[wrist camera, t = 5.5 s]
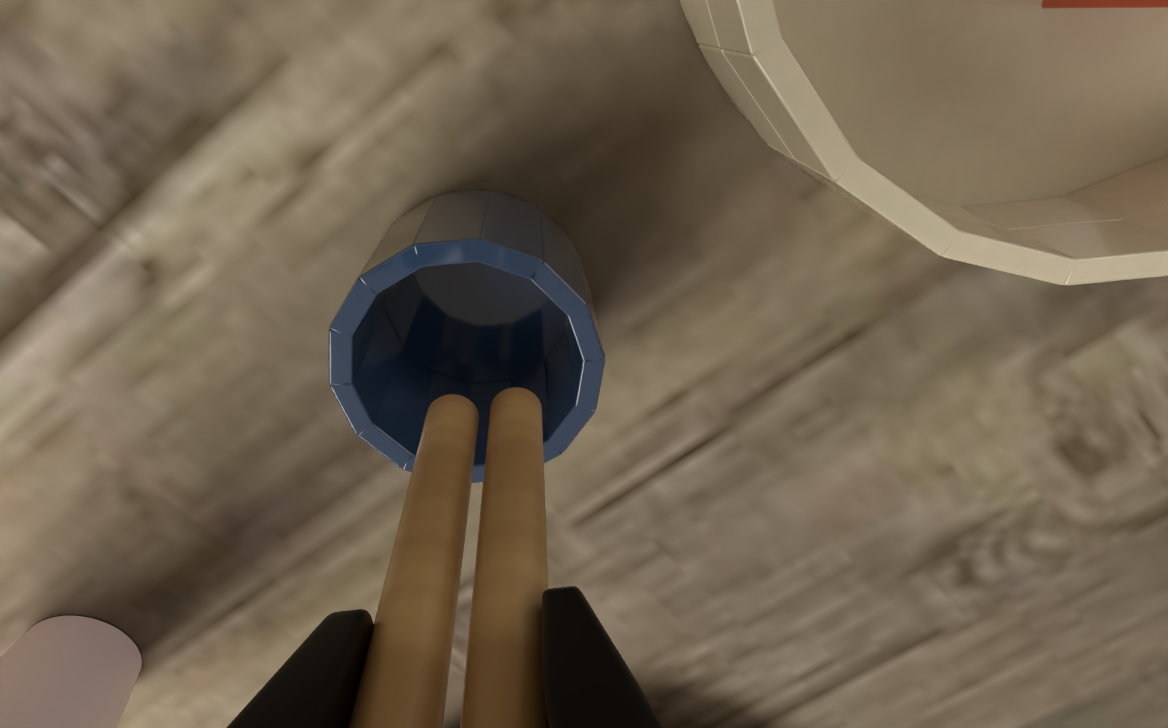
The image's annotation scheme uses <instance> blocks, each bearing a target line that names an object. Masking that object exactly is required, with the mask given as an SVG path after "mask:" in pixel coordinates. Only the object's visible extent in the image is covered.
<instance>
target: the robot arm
mask: <svg viewBox="0 0 1168 728" xmlns="http://www.w3.org/2000/svg"><path fill="white" fill-rule="evenodd" d="M373 627H374V624H373V621H372V618H371V616H370V614H369V613H368V611H366V610H363V609H359V610H350V611H341V612H334V613H331V614H330V615H328V616H327V617H326V618H325V619H324V620H323V621H322V622H321V623H320V624H319V626H318V627H317V628H316V629H315V630H314V631H313V632H312V633H311V634H310V636H309V637H308V638H307V639H306V640H305V641H304V642H303V643H302V644H301V646H300V647H299V648H298V649H297V650H296V651H295V652H294V653H293V654H292V656H291V657H290V658H289V659H288V660H287V661H286V662H285V663H284V664H283V666H282V667H281V668H280V669H279V670H278V671H277V672H276V673H275V674H274V676H273V677H272V678H271V679H270V680H269V681H268V682H267V683H266V684H265V686H264V687H263V688H262V689H261V690H260V691H259V692H258V693H257V694H256V696H255V697H254V698H253V699H252V700H251V701H250V702H249V703H248V704H247V706H246V707H245V708H244V709H243V710H242V711H241V712H240V713H239V714H238V716H237V717H236V718H235V719H234V720H233V721H232V722H231V723H230V724H229V726H228V727H227V728H348V727H349V723H350V719H351V715H352V711H353V707H354V703H355V699H356V695H357V691H358V687H359V683H360V679H361V675H362V671H363V667H364V663H365V659H366V655H367V651H368V647H369V643H370V639H371V635H372V631H373ZM542 684H543V690H544V697H545V704H546V711H547V718H548V725H549V728H665V726H664V725H663V723H662V721H661V720H660V718H659V717H658V715H657V713H656V712H655V710H654V709H653V707H652V705H651V704H650V702H649V700H648V699H647V697H646V696H645V694H644V692H643V691H642V689H641V687H640V686H639V684H638V683H637V681H636V679H635V678H634V676H633V675H632V673H631V671H630V670H629V668H628V666H627V665H626V663H625V662H624V660H623V658H622V657H621V655H620V653H619V652H618V650H617V649H616V647H615V645H614V644H613V642H612V641H611V639H610V637H609V636H608V634H607V632H606V631H605V629H604V628H603V626H602V624H601V623H600V621H599V619H598V618H597V616H596V615H595V613H594V611H593V610H592V608H591V607H590V605H589V603H588V602H587V600H586V598H585V597H584V595H583V594H582V592H581V591H580V590H579V589H578V588H577V587H575V586H570V587H561V588H552V589H546V590H545V591H544V592H543V594H542Z"/></svg>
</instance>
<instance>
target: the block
mask: <svg viewBox="0 0 1168 728" xmlns="http://www.w3.org/2000/svg"><path fill="white" fill-rule="evenodd" d="M1042 8H1168V0H1043V2H1042Z"/></svg>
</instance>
